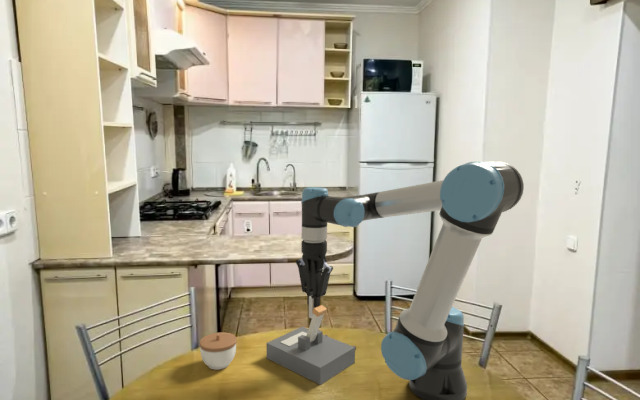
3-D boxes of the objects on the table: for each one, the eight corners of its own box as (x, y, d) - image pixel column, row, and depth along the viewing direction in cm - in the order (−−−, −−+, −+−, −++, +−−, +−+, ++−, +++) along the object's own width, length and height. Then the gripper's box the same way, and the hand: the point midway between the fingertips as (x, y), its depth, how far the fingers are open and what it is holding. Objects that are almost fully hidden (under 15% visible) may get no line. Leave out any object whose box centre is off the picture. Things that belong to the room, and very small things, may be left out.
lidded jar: (228, 376, 120) (227, 345, 119) (193, 371, 123) (192, 341, 121) (242, 357, 131) (241, 328, 130) (210, 353, 133) (209, 325, 132)
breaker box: (354, 362, 128) (355, 336, 127) (320, 384, 116) (320, 355, 115) (302, 340, 142) (302, 316, 141) (266, 358, 130) (266, 332, 129)
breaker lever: (316, 341, 129) (327, 309, 125) (308, 345, 127) (319, 312, 123) (311, 336, 131) (321, 304, 126) (303, 340, 128) (313, 308, 124)
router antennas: (356, 349, 136) (357, 346, 136) (343, 357, 131) (343, 354, 131) (325, 337, 145) (325, 333, 145) (311, 344, 140) (311, 341, 139)
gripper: (339, 241, 122) (338, 318, 125) (306, 234, 131) (306, 307, 134) (322, 245, 117) (321, 326, 120) (289, 238, 125) (289, 314, 128)
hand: (313, 316), depth 127 cm, fingers closed
